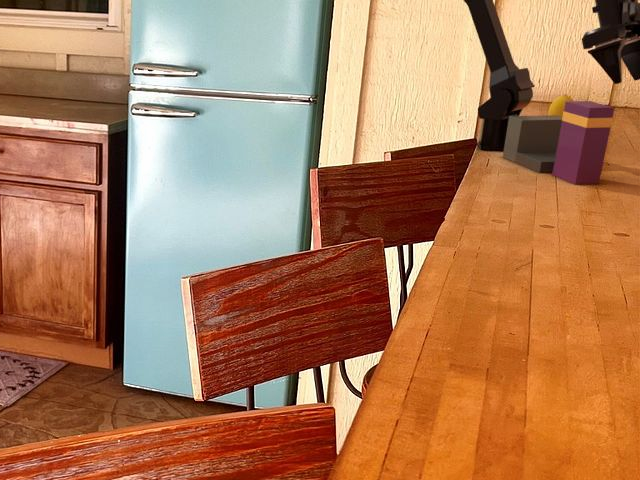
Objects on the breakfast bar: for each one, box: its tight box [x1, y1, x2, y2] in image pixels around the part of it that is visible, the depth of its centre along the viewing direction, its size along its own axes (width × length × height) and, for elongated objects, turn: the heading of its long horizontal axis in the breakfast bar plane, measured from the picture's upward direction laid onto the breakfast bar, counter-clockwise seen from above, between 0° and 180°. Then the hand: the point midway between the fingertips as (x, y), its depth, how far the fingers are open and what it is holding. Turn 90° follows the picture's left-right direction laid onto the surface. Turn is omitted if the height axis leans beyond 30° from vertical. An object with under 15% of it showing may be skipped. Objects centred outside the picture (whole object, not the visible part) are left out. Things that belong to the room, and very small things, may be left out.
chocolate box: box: [551, 100, 615, 185], centre depth 155 cm, size 5×8×13 cm, turn 8°
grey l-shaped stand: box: [502, 114, 562, 174], centre depth 168 cm, size 14×10×8 cm
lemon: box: [547, 94, 574, 117], centre depth 202 cm, size 6×6×8 cm
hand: (628, 81), depth 162 cm, fingers open, 9 cm apart
